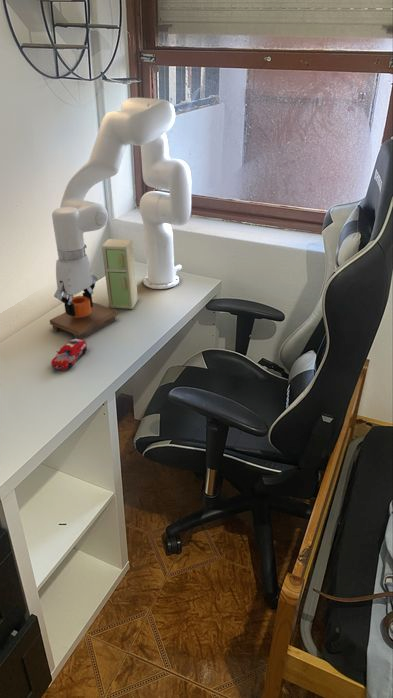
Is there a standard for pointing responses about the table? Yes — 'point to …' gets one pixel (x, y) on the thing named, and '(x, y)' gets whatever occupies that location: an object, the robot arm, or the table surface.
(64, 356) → the race car
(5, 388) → the table surface
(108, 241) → the toy refrigerator
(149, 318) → the table surface
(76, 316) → the ring
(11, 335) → the table surface
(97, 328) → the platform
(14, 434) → the table surface
